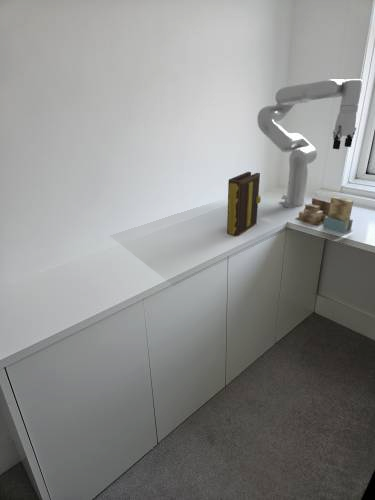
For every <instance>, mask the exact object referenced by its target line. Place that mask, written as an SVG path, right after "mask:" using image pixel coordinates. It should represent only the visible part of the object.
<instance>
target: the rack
mask: <svg viewBox="0 0 375 500" xmlns="http://www.w3.org/2000/svg"><path fill="white" fill-rule="evenodd" d="M330 202H331V201H327V200H322V199H320V198H315V197H312V199H311V203H306V205H305V206H304V209H303V210H301V211H299V212H298V217H295V218H294V220H296V221H300V222H302V223H305V224H309V225H312V226H316V227H319V226H321V225H322V226H323V224H324V218H325V217H326V216H327V217H328V214H329V208H330Z"/></svg>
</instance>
